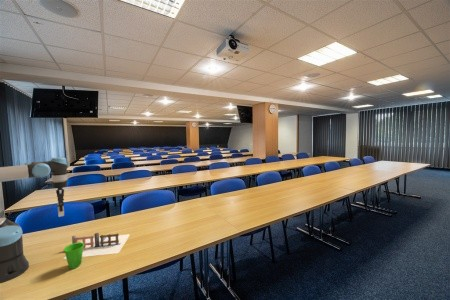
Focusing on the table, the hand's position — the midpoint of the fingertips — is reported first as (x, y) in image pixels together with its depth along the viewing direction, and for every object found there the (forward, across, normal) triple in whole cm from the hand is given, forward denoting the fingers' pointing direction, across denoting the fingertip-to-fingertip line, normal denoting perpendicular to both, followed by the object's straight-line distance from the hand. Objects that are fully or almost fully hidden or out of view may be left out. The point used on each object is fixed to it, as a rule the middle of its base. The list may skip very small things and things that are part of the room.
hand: (60, 213), depth 127 cm
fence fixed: (+21, -21, -22) cm, 37 cm away
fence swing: (+21, -14, -10) cm, 27 cm away
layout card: (+21, -18, -19) cm, 33 cm away
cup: (+22, -32, -5) cm, 39 cm away
